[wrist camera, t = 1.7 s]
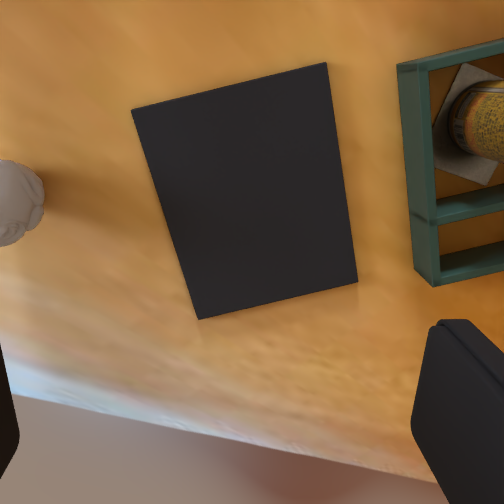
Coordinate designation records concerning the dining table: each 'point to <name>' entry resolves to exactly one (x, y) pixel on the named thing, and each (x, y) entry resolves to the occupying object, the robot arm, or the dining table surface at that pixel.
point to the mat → (252, 189)
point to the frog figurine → (19, 201)
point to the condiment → (471, 126)
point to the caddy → (423, 177)
